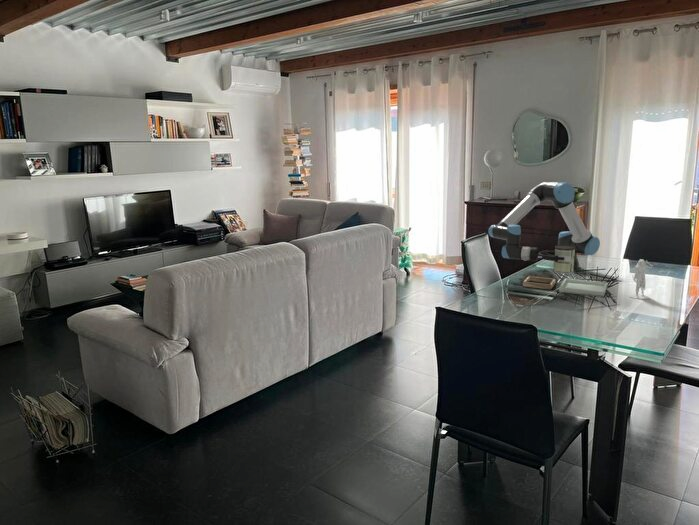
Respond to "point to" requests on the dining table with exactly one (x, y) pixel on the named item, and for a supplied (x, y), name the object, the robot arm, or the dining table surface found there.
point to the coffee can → (564, 266)
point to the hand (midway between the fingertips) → (572, 257)
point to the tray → (583, 287)
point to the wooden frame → (539, 285)
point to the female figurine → (640, 279)
